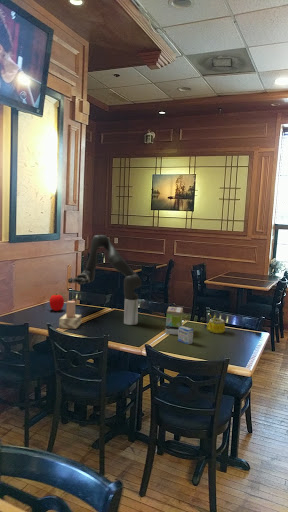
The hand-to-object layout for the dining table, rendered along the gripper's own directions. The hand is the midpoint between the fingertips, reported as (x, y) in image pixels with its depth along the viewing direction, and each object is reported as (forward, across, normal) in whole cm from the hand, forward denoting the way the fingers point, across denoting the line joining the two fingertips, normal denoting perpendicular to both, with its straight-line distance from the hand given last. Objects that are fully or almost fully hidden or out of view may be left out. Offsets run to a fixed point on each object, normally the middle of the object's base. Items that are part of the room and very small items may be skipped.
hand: (76, 282), depth 250 cm
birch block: (+11, 0, +27) cm, 29 cm away
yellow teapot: (+3, +95, +29) cm, 99 cm away
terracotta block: (+11, 0, +21) cm, 24 cm away
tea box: (+8, +68, +28) cm, 74 cm away
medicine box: (+29, +75, +29) cm, 85 cm away
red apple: (-26, -22, +27) cm, 44 cm away
